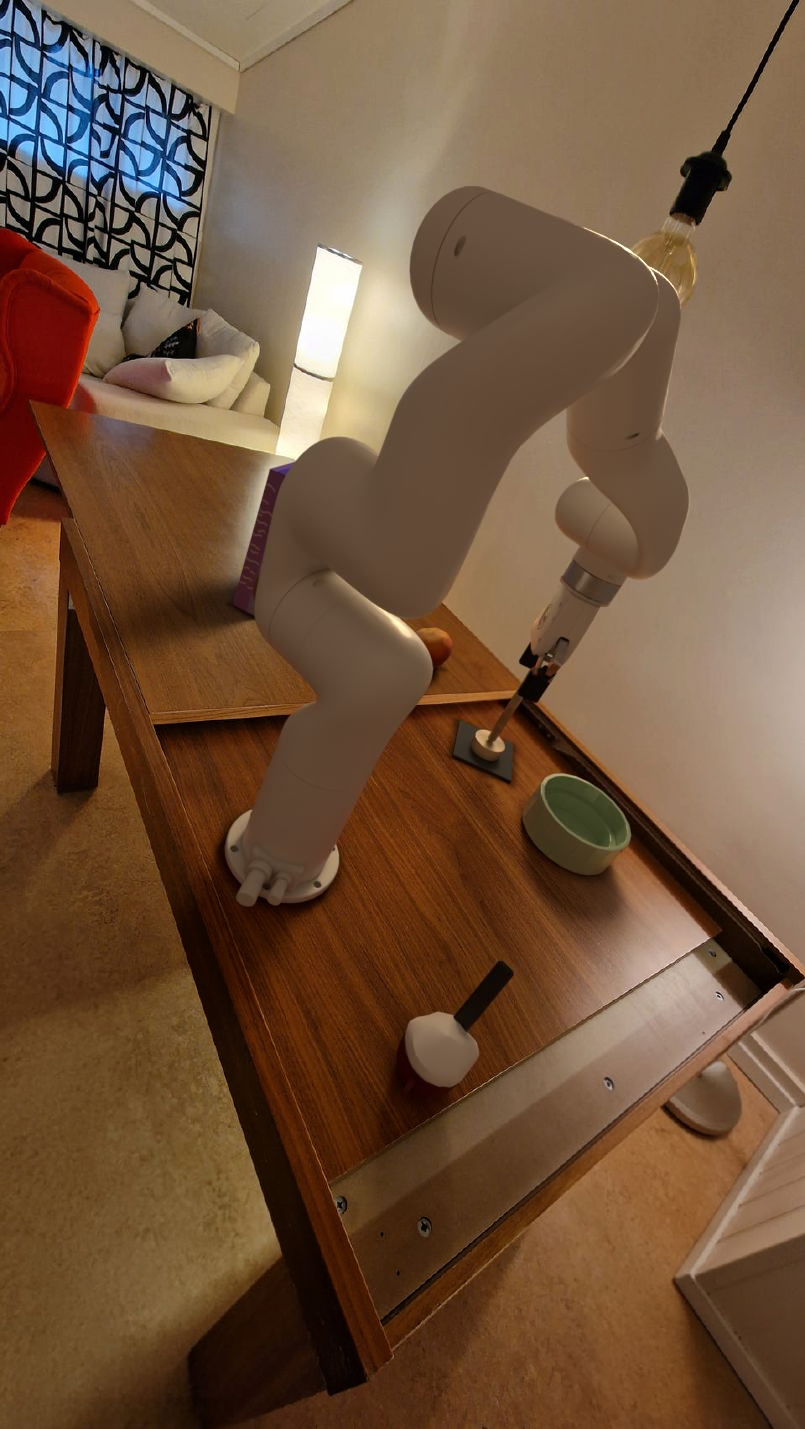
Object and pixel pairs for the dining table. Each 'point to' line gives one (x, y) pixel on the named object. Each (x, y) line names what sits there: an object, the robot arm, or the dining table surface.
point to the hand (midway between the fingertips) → (527, 681)
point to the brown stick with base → (495, 732)
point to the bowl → (576, 824)
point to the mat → (466, 754)
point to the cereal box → (259, 541)
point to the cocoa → (446, 1041)
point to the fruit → (436, 644)
